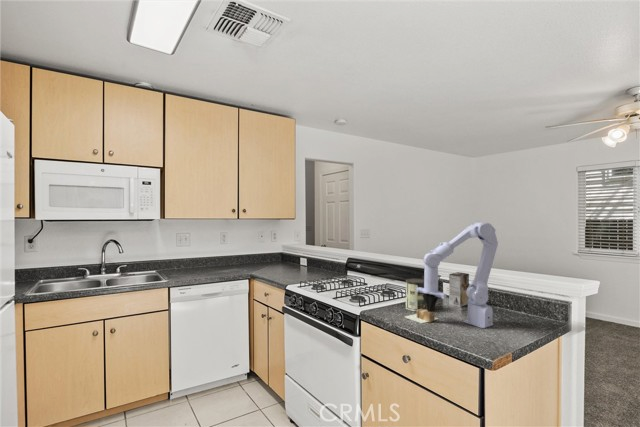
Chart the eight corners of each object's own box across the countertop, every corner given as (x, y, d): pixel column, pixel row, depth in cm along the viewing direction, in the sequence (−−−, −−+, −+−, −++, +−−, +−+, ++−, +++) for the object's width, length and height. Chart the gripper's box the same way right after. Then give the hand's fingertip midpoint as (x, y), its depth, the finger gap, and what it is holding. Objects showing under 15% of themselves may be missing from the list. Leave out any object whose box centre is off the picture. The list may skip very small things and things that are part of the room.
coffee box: (457, 301, 183) (457, 271, 183) (468, 304, 179) (469, 273, 178) (448, 304, 177) (449, 273, 177) (460, 307, 173) (461, 275, 172)
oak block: (434, 312, 151) (421, 308, 157) (429, 313, 149) (416, 309, 155) (434, 320, 151) (421, 316, 157) (429, 322, 149) (416, 317, 155)
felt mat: (438, 319, 154) (438, 318, 154) (422, 323, 147) (422, 322, 147) (420, 313, 162) (420, 312, 162) (404, 317, 156) (404, 316, 156)
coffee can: (425, 306, 174) (426, 278, 174) (427, 312, 164) (428, 283, 164) (404, 305, 176) (405, 277, 176) (405, 310, 166) (406, 281, 166)
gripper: (411, 278, 154) (411, 308, 154) (439, 284, 142) (438, 317, 142) (422, 277, 158) (421, 306, 158) (449, 282, 146) (449, 314, 146)
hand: (430, 311), depth 150 cm, fingers closed
